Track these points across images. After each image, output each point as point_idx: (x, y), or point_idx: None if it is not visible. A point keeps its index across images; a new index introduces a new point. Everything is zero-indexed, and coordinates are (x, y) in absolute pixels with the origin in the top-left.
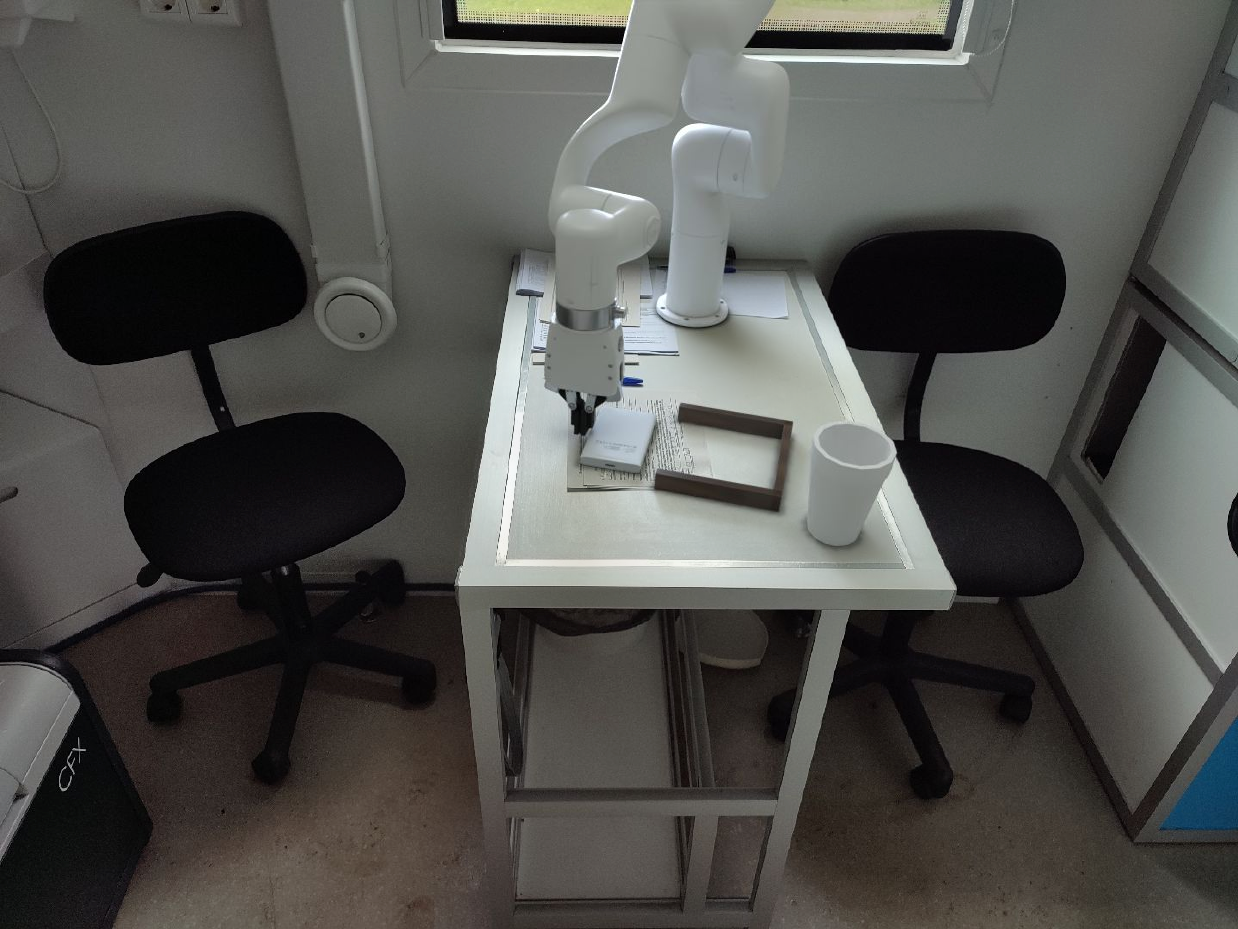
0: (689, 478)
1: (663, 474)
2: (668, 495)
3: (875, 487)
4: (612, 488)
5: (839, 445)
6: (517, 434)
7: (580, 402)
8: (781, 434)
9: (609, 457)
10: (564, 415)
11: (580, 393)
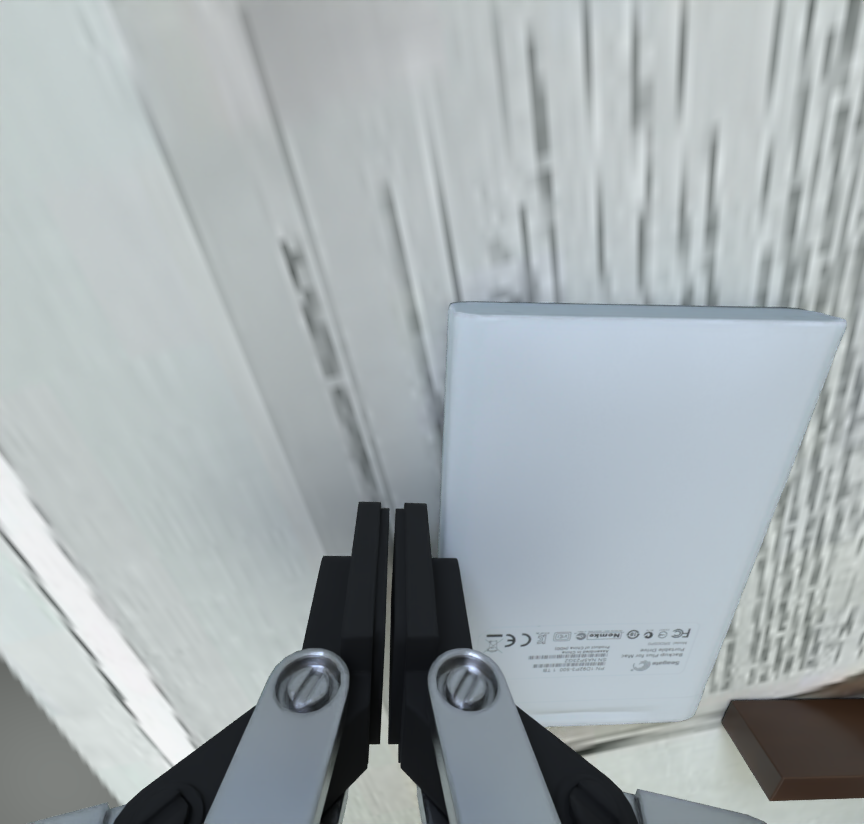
0: None
1: (801, 798)
2: None
3: None
4: (572, 749)
5: None
6: (65, 583)
7: (364, 748)
8: None
9: (563, 711)
10: (224, 365)
11: (337, 750)
